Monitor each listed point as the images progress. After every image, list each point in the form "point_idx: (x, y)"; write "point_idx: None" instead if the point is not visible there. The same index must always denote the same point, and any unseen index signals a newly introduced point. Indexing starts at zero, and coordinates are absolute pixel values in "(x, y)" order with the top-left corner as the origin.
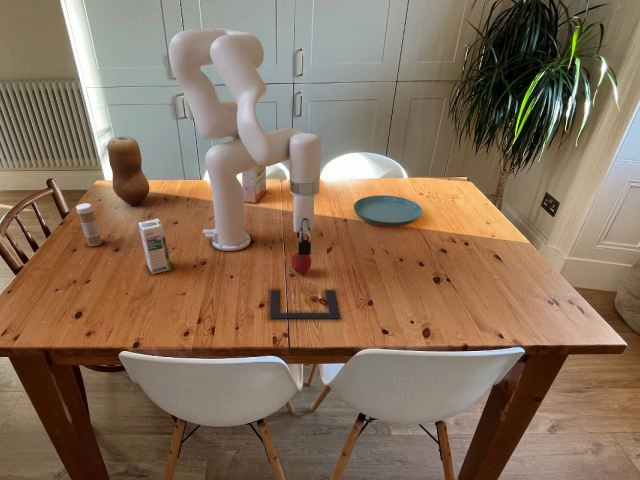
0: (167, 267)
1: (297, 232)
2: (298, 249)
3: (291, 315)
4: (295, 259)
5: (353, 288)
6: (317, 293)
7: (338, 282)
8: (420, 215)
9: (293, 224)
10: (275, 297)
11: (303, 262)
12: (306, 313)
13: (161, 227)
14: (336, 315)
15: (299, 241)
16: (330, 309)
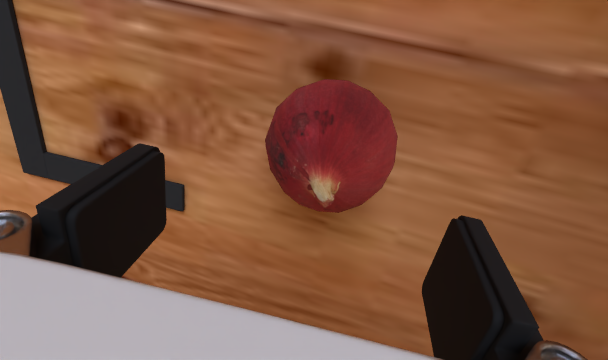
0: None
1: (479, 253)
2: (111, 161)
3: None
4: (293, 114)
5: (201, 272)
6: (168, 147)
7: (242, 244)
8: None
9: (104, 346)
10: None
11: (268, 155)
12: (18, 62)
13: None
14: (34, 169)
15: (46, 217)
16: (62, 161)
